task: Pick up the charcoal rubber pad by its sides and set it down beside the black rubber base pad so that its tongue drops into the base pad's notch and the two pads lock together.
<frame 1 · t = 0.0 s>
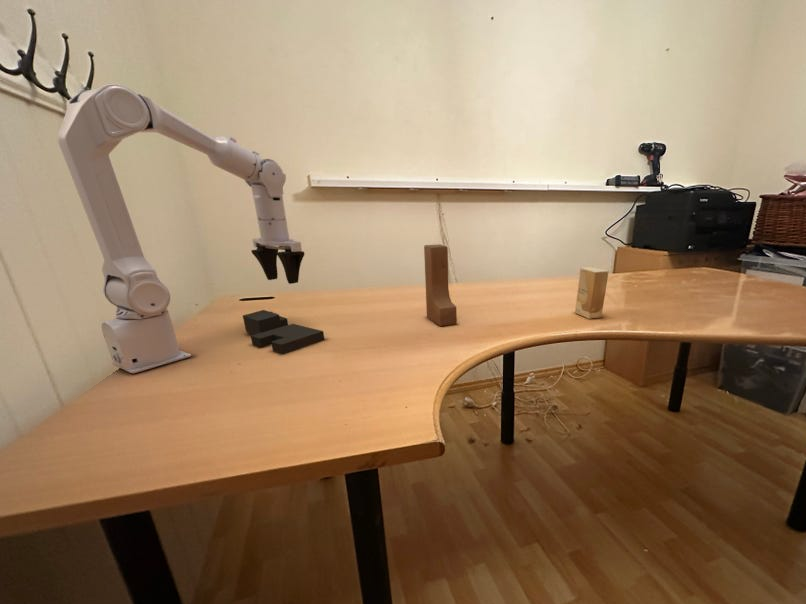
hand: (282, 281, 94), 10 cm above the table, tool pointing down, fingers open, 7 cm apart
cosmetic box: (588, 316, 107), on the table
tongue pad: (264, 331, 90), on the table, touching electronic device
wooden block: (441, 321, 100), on the table
base pad: (289, 342, 85), on the table
electronic device: (265, 322, 97), on the table, touching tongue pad
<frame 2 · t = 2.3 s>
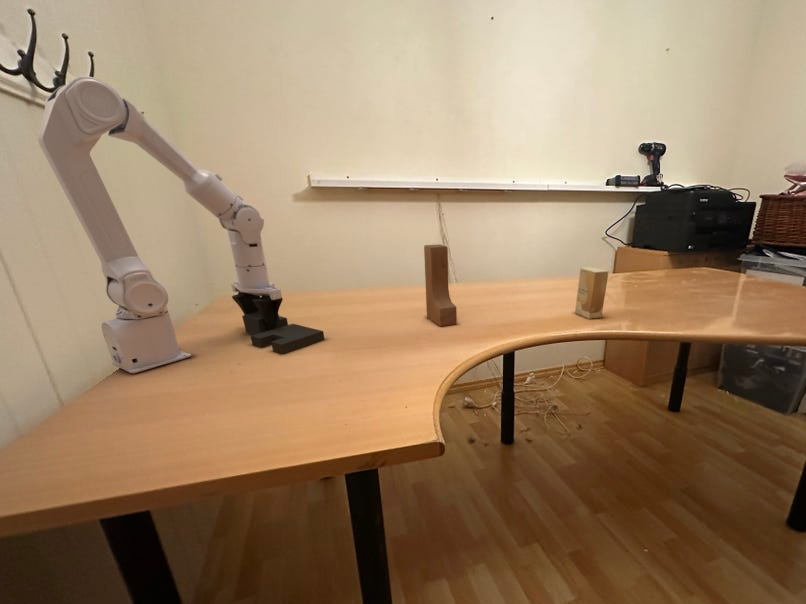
hand: (263, 326, 90), 1 cm above the table, tool pointing down, fingers closed on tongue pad, 5 cm apart
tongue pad: (264, 331, 90), on the table, touching electronic device, gripper
everything else where it was.
when the fingers open (1 cm above the table, at t = 6.2 s): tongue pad stays where it is, on the table.
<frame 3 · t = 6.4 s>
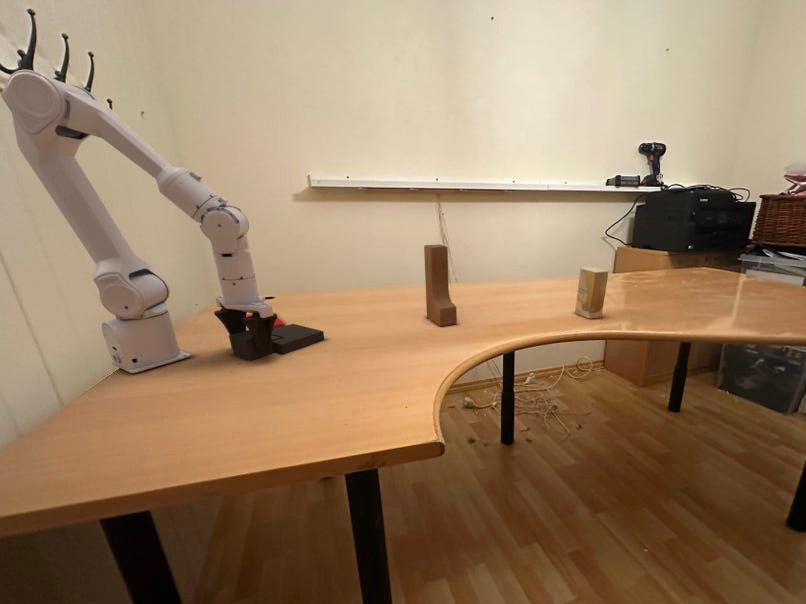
hand: (252, 347, 78), 1 cm above the table, tool pointing down, fingers open, 7 cm apart
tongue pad: (254, 353, 78), on the table
electronic device: (265, 322, 97), on the table
everything else where it was.
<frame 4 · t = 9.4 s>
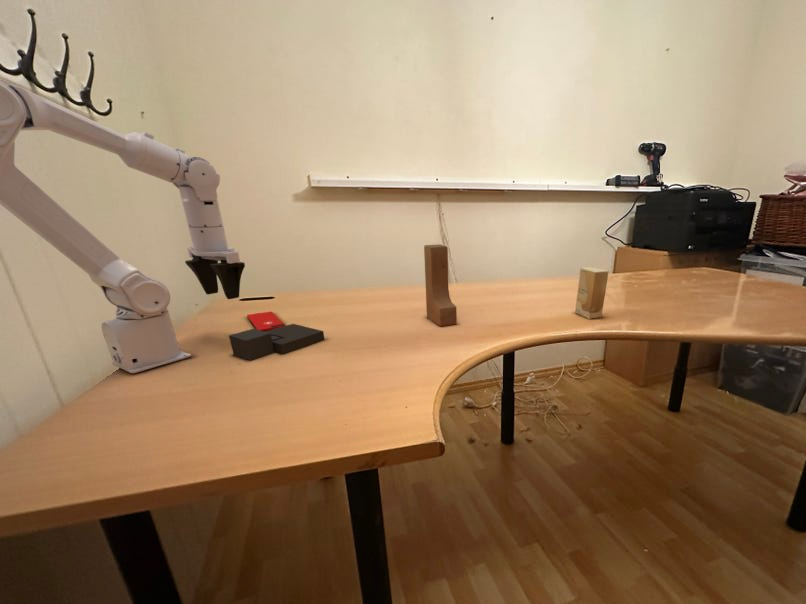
hand: (222, 295, 83), 9 cm above the table, tool pointing down, fingers open, 7 cm apart
nothing on the table moved.
at the end: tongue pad 0.1 cm from the target spot on the table beside the base pad, on the table; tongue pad tilted 0°; the gripper is holding nothing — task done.
